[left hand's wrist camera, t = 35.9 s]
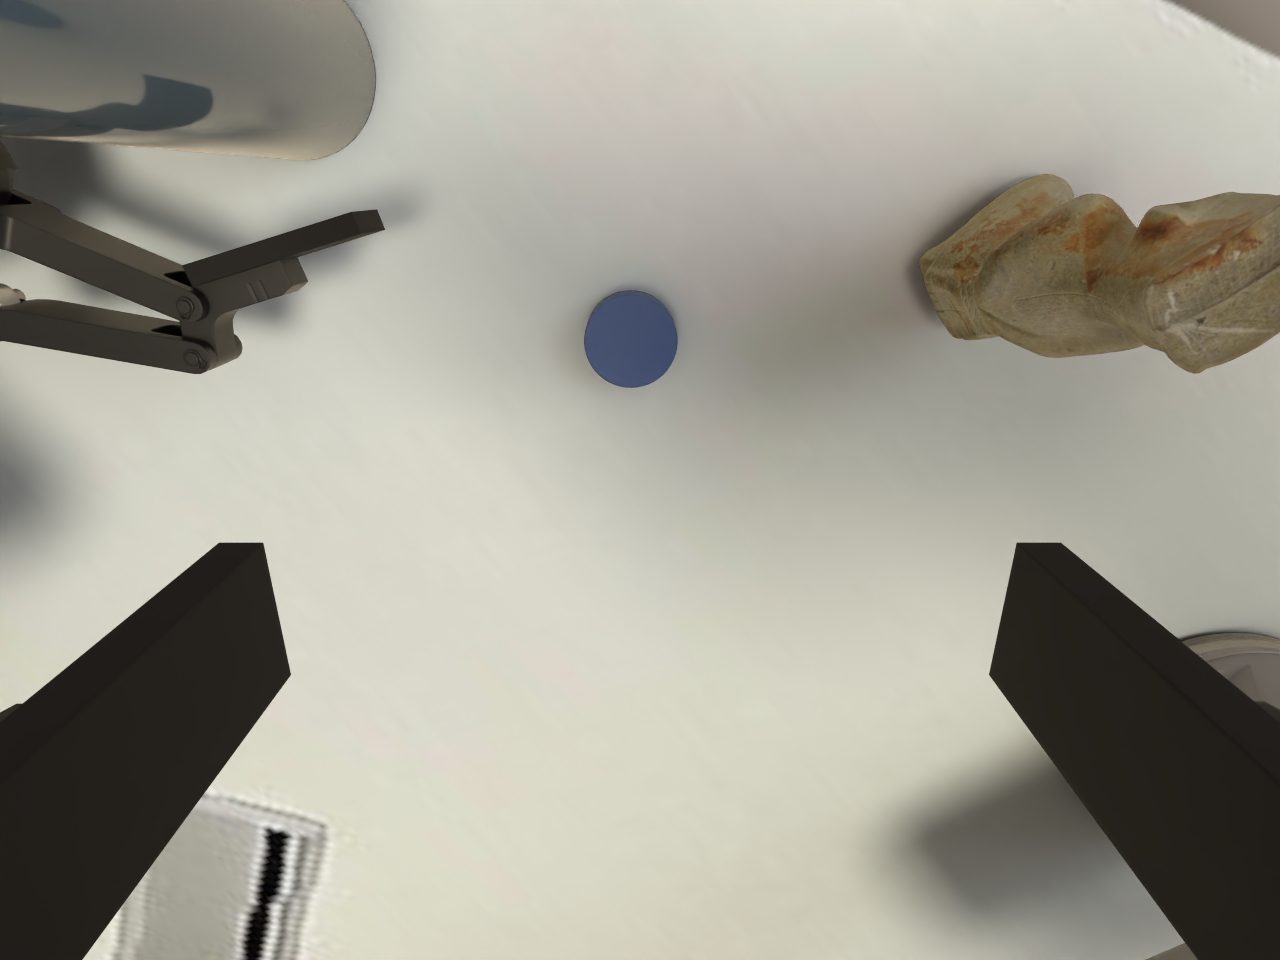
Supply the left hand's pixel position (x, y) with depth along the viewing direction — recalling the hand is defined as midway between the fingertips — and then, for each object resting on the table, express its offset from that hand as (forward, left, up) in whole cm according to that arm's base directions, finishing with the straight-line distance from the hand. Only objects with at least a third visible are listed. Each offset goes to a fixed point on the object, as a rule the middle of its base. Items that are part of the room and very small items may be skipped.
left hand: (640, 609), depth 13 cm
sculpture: (-14, -9, -24) cm, 29 cm away
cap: (0, 0, -22) cm, 22 cm away
